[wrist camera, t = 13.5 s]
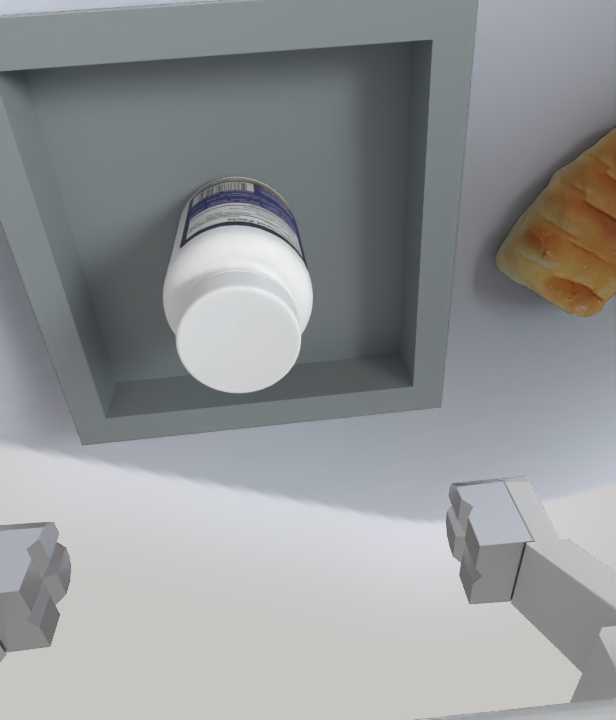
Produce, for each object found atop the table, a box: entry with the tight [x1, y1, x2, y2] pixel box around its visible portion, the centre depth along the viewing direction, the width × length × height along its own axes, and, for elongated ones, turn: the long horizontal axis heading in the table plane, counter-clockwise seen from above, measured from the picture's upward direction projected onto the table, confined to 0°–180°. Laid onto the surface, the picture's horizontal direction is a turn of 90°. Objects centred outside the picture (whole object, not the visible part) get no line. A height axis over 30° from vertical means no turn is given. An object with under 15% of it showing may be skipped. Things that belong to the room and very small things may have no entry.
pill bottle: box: [163, 177, 313, 393], centre depth 22 cm, size 5×5×10 cm
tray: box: [0, 0, 478, 445], centre depth 25 cm, size 18×18×4 cm
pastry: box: [495, 127, 616, 317], centre depth 27 cm, size 9×7×4 cm
